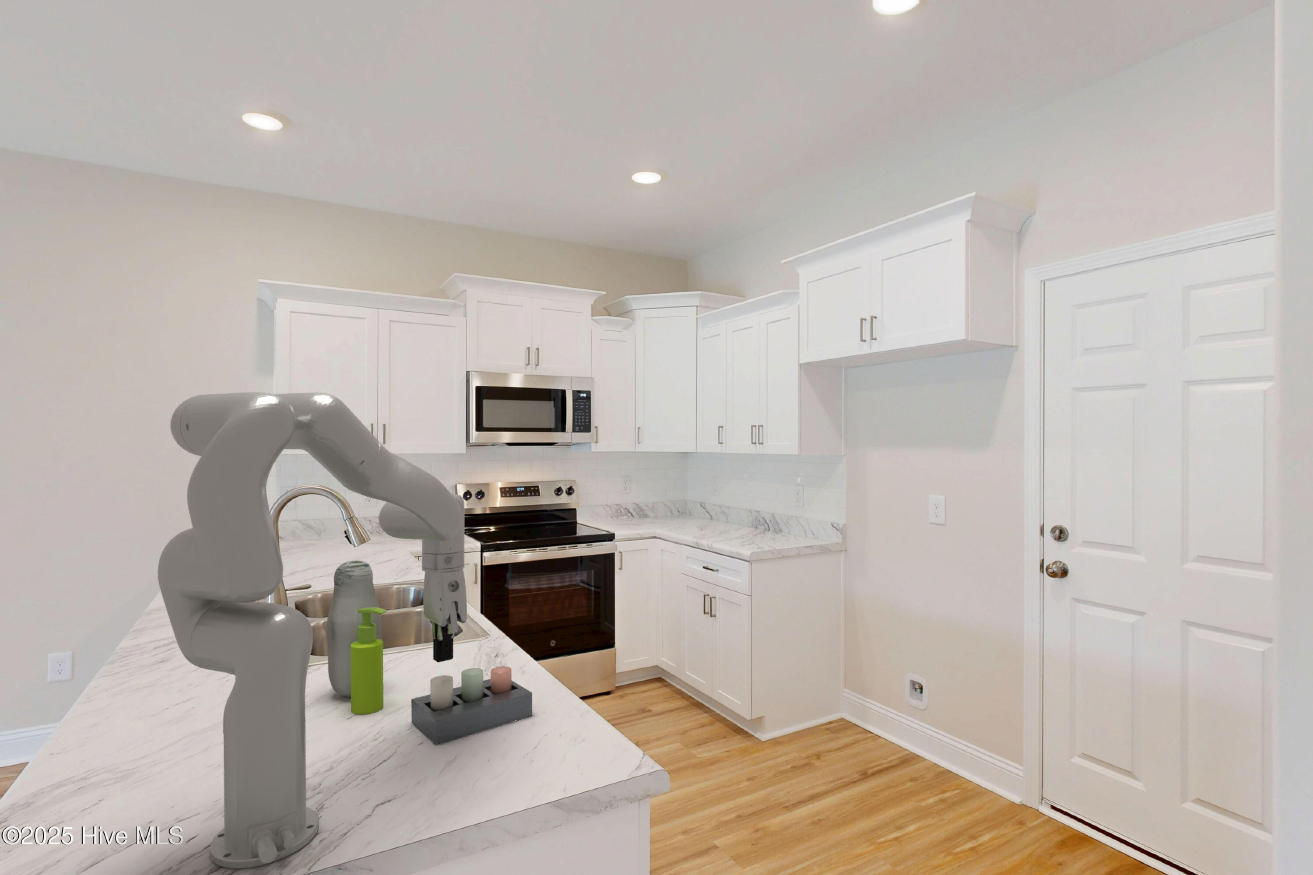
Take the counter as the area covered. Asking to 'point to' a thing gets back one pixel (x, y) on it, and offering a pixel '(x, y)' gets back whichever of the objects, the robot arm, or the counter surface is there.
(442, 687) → the cream rounded cylinder
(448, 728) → the gray socket block
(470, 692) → the green piece
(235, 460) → the robot arm
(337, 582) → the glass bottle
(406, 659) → the counter surface
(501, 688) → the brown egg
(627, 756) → the counter surface
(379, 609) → the soap dispenser
